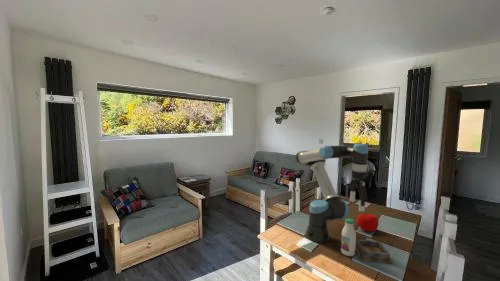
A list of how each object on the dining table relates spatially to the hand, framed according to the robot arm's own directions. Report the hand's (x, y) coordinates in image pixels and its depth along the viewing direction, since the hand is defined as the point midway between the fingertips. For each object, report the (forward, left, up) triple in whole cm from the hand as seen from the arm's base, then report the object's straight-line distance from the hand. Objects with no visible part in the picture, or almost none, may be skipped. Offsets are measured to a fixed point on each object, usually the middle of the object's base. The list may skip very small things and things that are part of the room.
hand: (356, 206), depth 127 cm
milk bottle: (-5, -4, -27) cm, 28 cm away
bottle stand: (+9, -2, -27) cm, 28 cm away
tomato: (+16, +27, -27) cm, 41 cm away
